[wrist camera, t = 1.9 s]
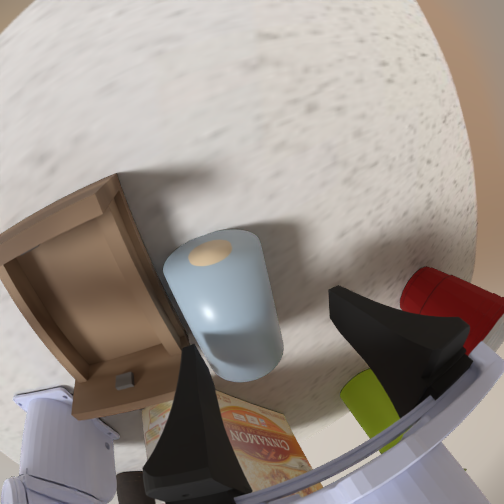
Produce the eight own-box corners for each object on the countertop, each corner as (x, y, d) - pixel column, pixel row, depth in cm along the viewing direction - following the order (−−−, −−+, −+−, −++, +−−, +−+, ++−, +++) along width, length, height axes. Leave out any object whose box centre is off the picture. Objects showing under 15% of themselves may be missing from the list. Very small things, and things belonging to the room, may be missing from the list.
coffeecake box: (285, 413, 27) (362, 544, 11) (241, 440, 28) (300, 565, 11) (187, 373, 20) (274, 605, 3) (138, 410, 20) (187, 604, 3)
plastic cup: (370, 295, 23) (463, 381, 12) (439, 225, 23) (531, 278, 12) (388, 344, 28) (450, 409, 18) (444, 286, 28) (508, 335, 18)
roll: (286, 323, 18) (280, 383, 14) (219, 326, 20) (201, 381, 15) (265, 221, 15) (251, 277, 10) (182, 233, 16) (145, 285, 12)
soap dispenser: (385, 357, 30) (478, 461, 13) (366, 390, 32) (442, 485, 15) (351, 370, 28) (448, 493, 11) (334, 403, 30) (411, 512, 13)
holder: (187, 335, 18) (201, 391, 14) (84, 367, 16) (78, 420, 12) (116, 173, 12) (94, 193, 8) (-2, 235, 11) (-43, 274, 6)
